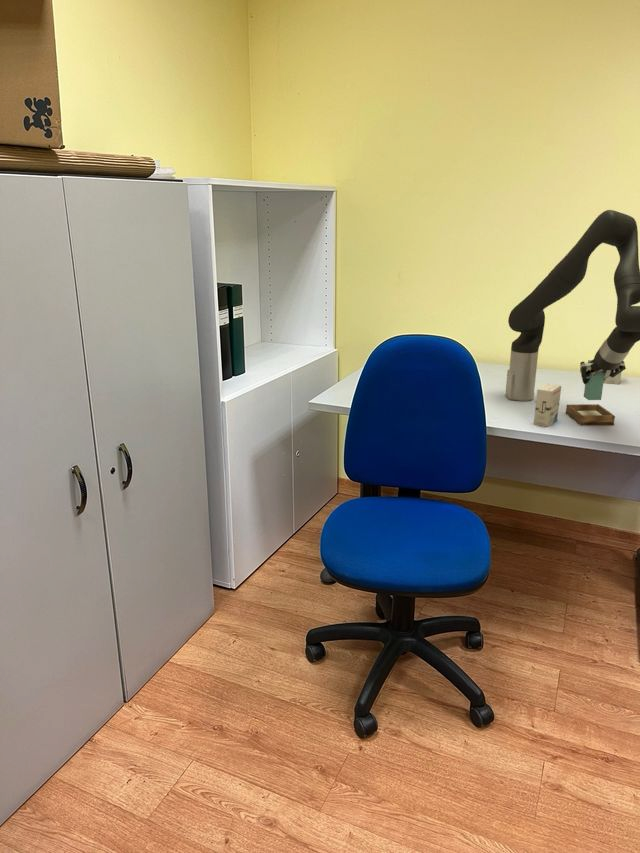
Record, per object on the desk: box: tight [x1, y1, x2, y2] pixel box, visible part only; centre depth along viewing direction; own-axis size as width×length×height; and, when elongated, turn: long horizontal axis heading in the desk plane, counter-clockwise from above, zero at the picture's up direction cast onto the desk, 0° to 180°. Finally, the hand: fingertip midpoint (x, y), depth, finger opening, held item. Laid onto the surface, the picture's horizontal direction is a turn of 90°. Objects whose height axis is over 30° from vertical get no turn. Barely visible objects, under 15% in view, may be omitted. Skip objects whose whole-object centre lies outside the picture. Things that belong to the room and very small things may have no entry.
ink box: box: [533, 383, 562, 427], centre depth 203 cm, size 9×5×12 cm, turn 141°
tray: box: [565, 403, 616, 426], centre depth 207 cm, size 11×13×3 cm
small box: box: [603, 370, 622, 385], centre depth 250 cm, size 8×6×13 cm
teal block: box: [583, 359, 604, 401], centre depth 203 cm, size 4×4×12 cm
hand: (591, 381), depth 205 cm, fingers closed on teal block, 4 cm apart
